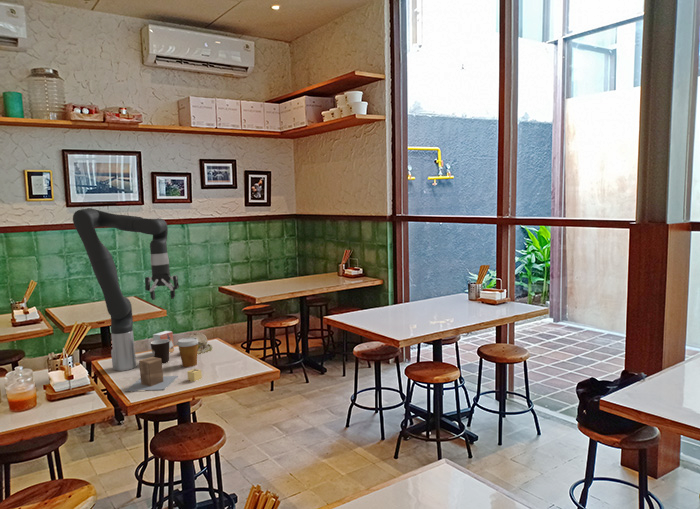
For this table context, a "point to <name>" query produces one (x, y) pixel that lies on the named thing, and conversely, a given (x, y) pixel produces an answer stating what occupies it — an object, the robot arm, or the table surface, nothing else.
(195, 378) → the letter cube
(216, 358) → the table surface
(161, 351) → the coffee mug
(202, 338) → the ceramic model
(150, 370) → the walnut block
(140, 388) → the grey mat
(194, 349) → the disposable coffee cup
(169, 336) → the small box
